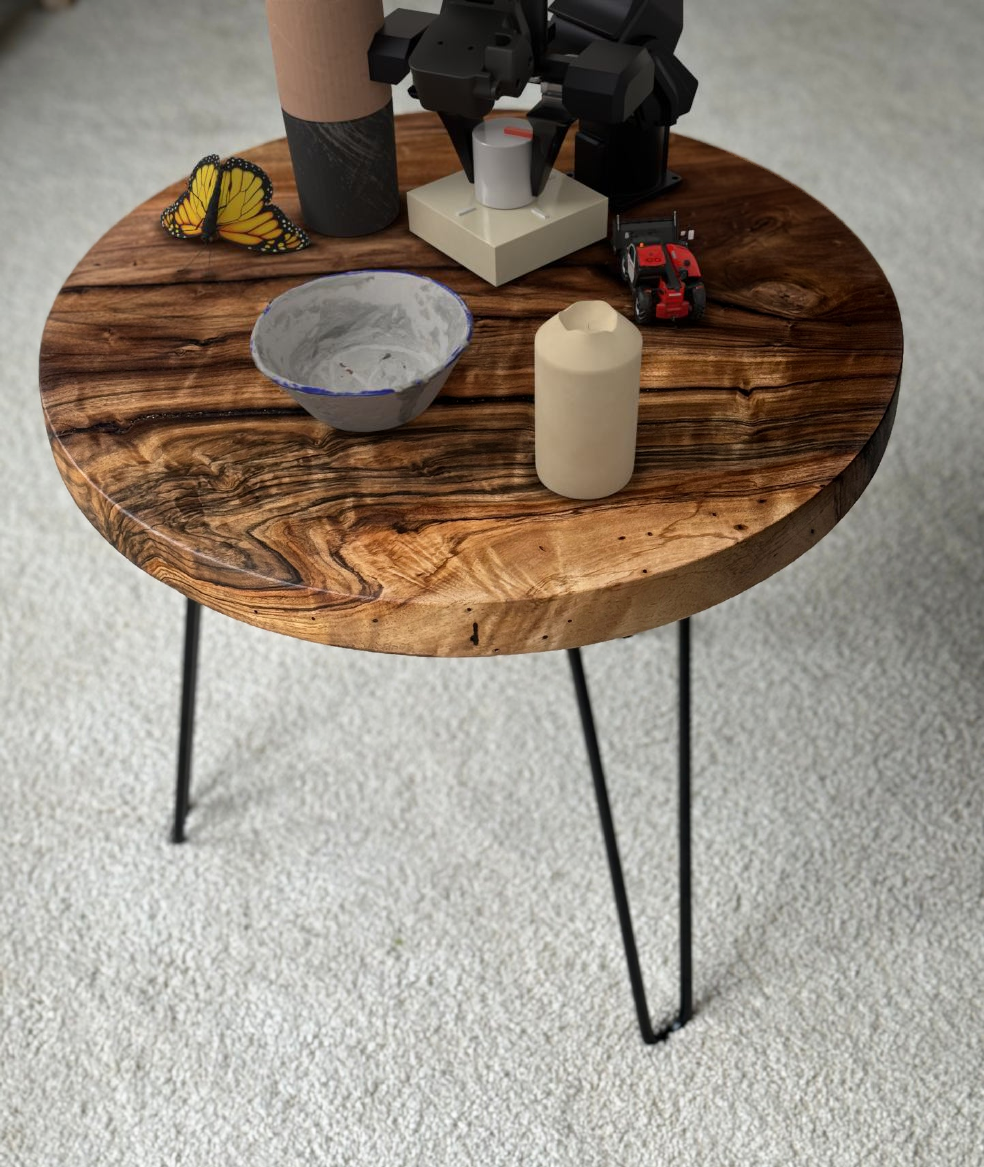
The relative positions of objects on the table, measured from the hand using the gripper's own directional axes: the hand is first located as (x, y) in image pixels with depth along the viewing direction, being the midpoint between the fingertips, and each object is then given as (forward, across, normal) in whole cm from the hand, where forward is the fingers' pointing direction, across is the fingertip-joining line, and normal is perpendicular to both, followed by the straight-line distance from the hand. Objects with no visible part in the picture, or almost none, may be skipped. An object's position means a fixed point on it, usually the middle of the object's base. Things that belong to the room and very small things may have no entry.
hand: (505, 187), depth 85 cm
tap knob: (0, 0, 0) cm, 0 cm away
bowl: (+4, 0, -20) cm, 21 cm away
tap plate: (+4, 0, 0) cm, 4 cm away
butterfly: (0, -18, -11) cm, 21 cm away
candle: (+4, +15, -22) cm, 27 cm away
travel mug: (+4, -12, -2) cm, 12 cm away
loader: (+4, +12, -2) cm, 13 cm away
